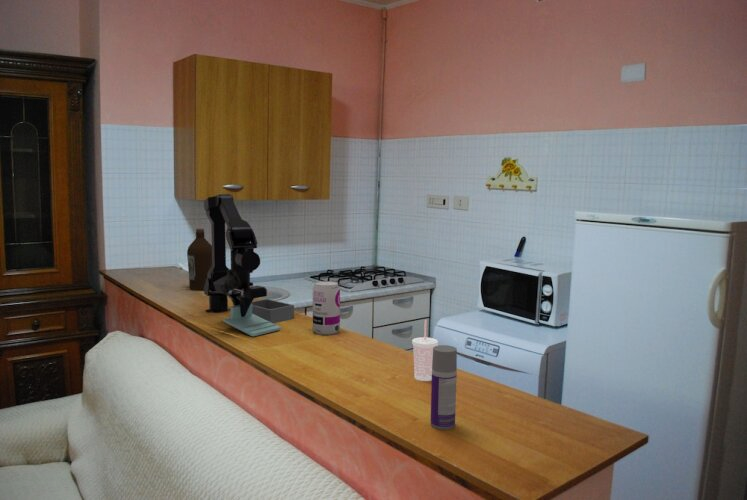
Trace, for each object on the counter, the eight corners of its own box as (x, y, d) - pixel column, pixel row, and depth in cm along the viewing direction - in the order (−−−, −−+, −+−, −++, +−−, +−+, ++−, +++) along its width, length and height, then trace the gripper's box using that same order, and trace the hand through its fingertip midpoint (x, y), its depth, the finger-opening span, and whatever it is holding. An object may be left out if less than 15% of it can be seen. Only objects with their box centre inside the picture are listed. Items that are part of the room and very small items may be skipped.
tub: (243, 318, 192) (242, 303, 191) (267, 313, 199) (266, 298, 198) (270, 325, 183) (270, 310, 182) (294, 320, 190) (294, 305, 189)
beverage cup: (406, 378, 136) (407, 320, 134) (419, 371, 141) (420, 315, 139) (429, 384, 132) (430, 324, 131) (441, 376, 138) (443, 319, 136)
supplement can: (341, 328, 180) (341, 281, 178) (337, 335, 172) (337, 286, 170) (315, 327, 181) (315, 280, 179) (310, 334, 172) (310, 285, 171)
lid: (223, 323, 176) (224, 306, 174) (251, 317, 184) (252, 301, 182) (252, 338, 167) (253, 320, 166) (280, 331, 175) (281, 314, 173)
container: (428, 419, 113) (430, 345, 111) (452, 419, 113) (454, 344, 111) (432, 430, 108) (434, 352, 106) (457, 429, 109) (460, 352, 107)
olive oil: (209, 285, 248) (208, 227, 245) (218, 289, 240) (217, 229, 236) (184, 287, 242) (182, 228, 239) (193, 292, 233) (191, 230, 230)
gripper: (199, 265, 176) (201, 315, 178) (236, 273, 164) (237, 326, 166) (230, 262, 184) (231, 309, 186) (267, 268, 172) (268, 319, 174)
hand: (241, 316), depth 178 cm, fingers closed on lid
